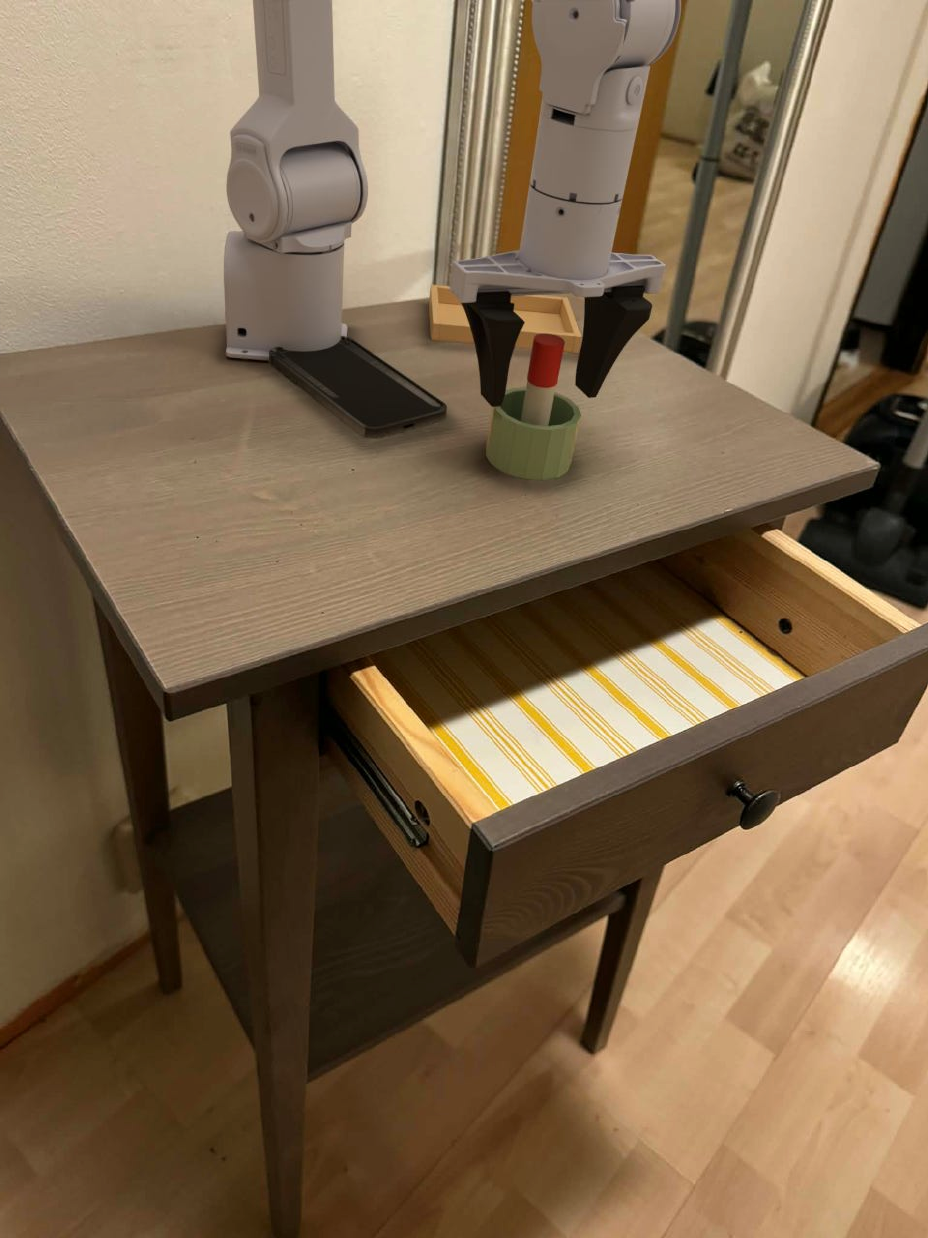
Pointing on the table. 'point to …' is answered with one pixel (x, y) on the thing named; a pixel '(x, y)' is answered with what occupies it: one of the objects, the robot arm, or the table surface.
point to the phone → (360, 388)
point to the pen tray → (533, 310)
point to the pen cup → (532, 438)
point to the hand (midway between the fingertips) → (539, 395)
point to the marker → (542, 378)
